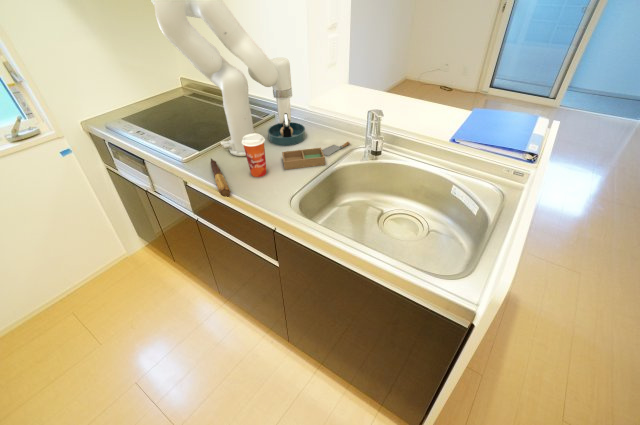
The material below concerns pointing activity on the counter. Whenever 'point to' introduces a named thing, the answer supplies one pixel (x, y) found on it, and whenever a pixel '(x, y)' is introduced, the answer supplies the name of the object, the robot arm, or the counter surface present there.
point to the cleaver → (333, 149)
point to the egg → (282, 131)
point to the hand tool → (220, 180)
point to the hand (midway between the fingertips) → (286, 134)
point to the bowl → (295, 138)
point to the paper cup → (255, 154)
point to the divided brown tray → (303, 158)
